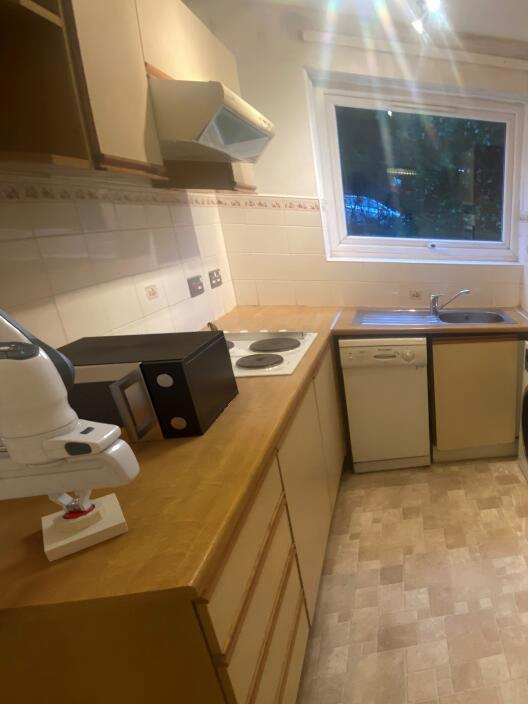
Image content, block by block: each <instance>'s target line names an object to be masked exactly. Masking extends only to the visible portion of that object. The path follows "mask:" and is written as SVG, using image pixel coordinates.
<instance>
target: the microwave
mask: <svg viewBox="0 0 528 704" xmlns="http://www.w3.org/2000/svg"><path fill="white" fill-rule="evenodd" d="M225 338H226V336H225V333H224V329H218V330H217V331H211V330H200V331H199V330H197V331H180V332H178V331H177V332H162V333H161V332H159V333H140V334H139V333H137V334H121V335H120V334H119V335H101V336H99V335H98V336H83V337H81V338H79V339H76V340H74V341H72V342H69V343H66V344H64V345H62V346H60V347H57V348H55V349H56V350H57V351H59V352H60V353H62V354H63V355H64V356H66V357H67V358H68V359H69V360H70V362H71V363H72V364H73V366H89V365H105V364H121V363H136V362H142V364H141V365H142V368H143V371H144V374H145V377H146V380H147V383H148V386H149V388H150V391H151V394H152V397H153V400H154V403H155V406H156V409H157V412H158V415H159V418H160V421H161V424H162V427H163V430H164V433H165V436H166V438H165V439H167V440H169V439H176V438H187V437H188V438H189V437H197V436H204V434H206V433H207V431H209V429H210V428H211V427H212V425H213V424H214V423H215V422H216V421H217V420H218V419H219V417H220V416H221V415H222V414H223V413H224V411H225V410H226V409H227V408H228V406H229V405H230V404H231V403H232V402H233V401H234V400H235V398H236V397H237V396H238V395H239V394H240V392H239V388H238V384H237V380H236V376H235V372H234V369H233V363H232V364H231V362H232V359H231V360H230V356H231V355H230V356H229V352H230V351H229V352H228V348H227V344H226V340H227V339H226V340H225ZM238 393H239V394H238ZM237 394H238V395H237ZM236 395H237V396H236ZM235 396H236V397H235ZM234 397H235V398H234ZM233 399H234V400H233ZM231 401H232V402H231ZM230 402H231V403H230ZM229 403H230V404H229ZM228 404H229V405H228ZM226 407H227V408H226ZM225 408H226V409H225ZM224 409H225V410H224ZM221 413H222V414H221ZM220 414H221V415H220ZM216 419H217V420H216Z"/></svg>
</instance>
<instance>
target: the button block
mask: <svg viewBox="0 0 528 704" xmlns="http://www.w3.org/2000/svg"><path fill="white" fill-rule="evenodd" d="M89 500H90V502H91V505H92V506H93V508H94V509H93V510H92V511H91V512H89V513H87V514H86V515H83V516H81V517H78V518H74V519H66V518H65V511H64V509H63V508H62V509H61V510H59V511H56V512H54V513H51V514H48V515H45V516H42V517H41V518H40V519H41V528H42V538H43V549H44V554H45V556H46V558H47V559H48V561H49V563H51V562H54V561H56V560H59V559H61V558H63V557H67V556H69V555H71V554H74V553H76V552H79V551H82V550H84V549H87V548H89V547H92V546H95V545H97V544H99V543H102V542H104V541H107V540H109V539H113V538H115V537H117V536H120V535H122V534H125V533H127V532H129V528H128V524H127V522H126V518H125V516H124V513H123V510H122V508H121V505H120V502H119V500H118V497H117V495H116V493H115V492H112V493H109V494H107V495H104V496H101V497H98V498H95V499H89Z"/></svg>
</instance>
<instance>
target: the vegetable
mask: <svg viewBox="0 0 528 704" xmlns="http://www.w3.org/2000/svg"><path fill="white" fill-rule="evenodd" d="M206 326H207V327H208V328H209V329H210V331H217V330H219V328H218V327H217V325H216V324H214V322H211V321H209V322H207V323H206ZM225 340H226V344H227V348H228V352H229V356H230V360H231V364H232V365H233V363H232V356H231V352H230V347H229V344H228V341H227V338H226V337H225Z"/></svg>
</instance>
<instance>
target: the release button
mask: <svg viewBox="0 0 528 704" xmlns="http://www.w3.org/2000/svg"><path fill="white" fill-rule="evenodd" d="M93 509H94V508H93V506H92V505H91V507H90V508H89V509H88V510H87V511H79V512H72V513H65V518H66V519H74V518H78V517H81V516H83V515H86V514H87V513H89V512H91V511H92V510H93Z"/></svg>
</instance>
